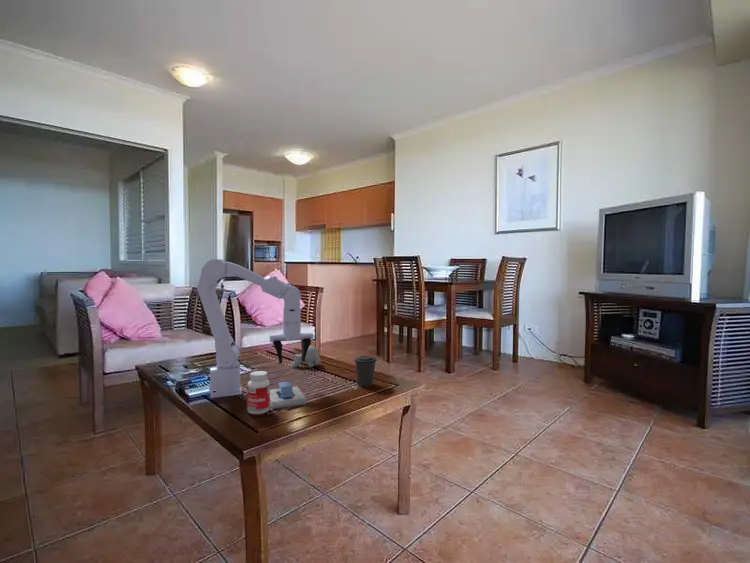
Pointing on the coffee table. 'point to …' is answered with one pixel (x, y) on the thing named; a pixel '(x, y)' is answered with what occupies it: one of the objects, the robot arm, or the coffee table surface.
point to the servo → (285, 390)
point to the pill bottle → (258, 393)
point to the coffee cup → (365, 370)
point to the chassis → (280, 402)
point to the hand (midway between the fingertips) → (291, 361)
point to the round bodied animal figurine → (308, 358)
